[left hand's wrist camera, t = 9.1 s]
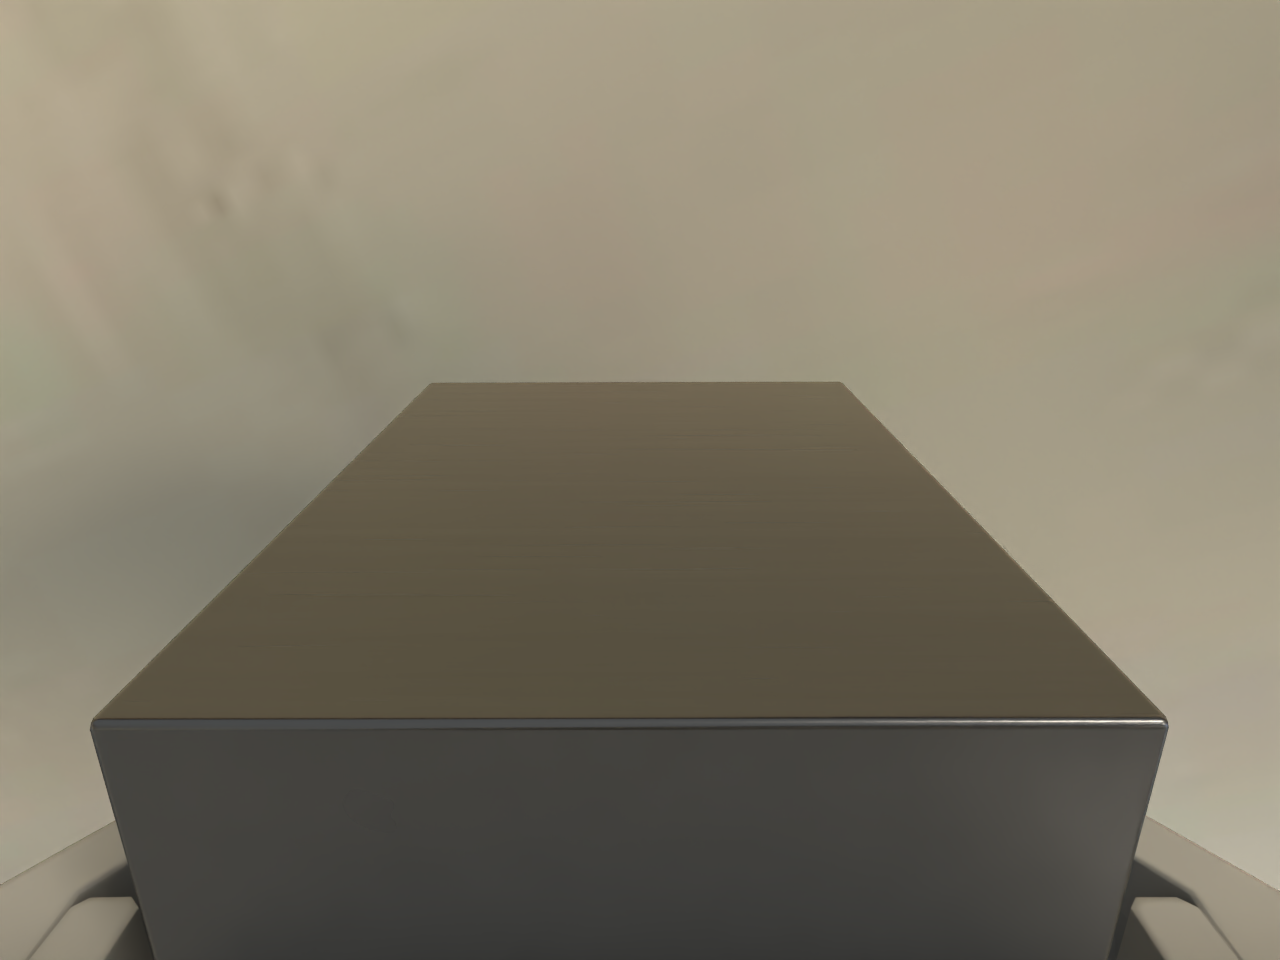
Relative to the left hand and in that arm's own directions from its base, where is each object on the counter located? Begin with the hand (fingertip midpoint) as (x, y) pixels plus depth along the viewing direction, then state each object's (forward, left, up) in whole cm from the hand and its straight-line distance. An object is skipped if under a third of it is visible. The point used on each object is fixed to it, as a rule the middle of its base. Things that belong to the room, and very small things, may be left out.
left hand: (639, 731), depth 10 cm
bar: (+7, 0, -3) cm, 8 cm away
